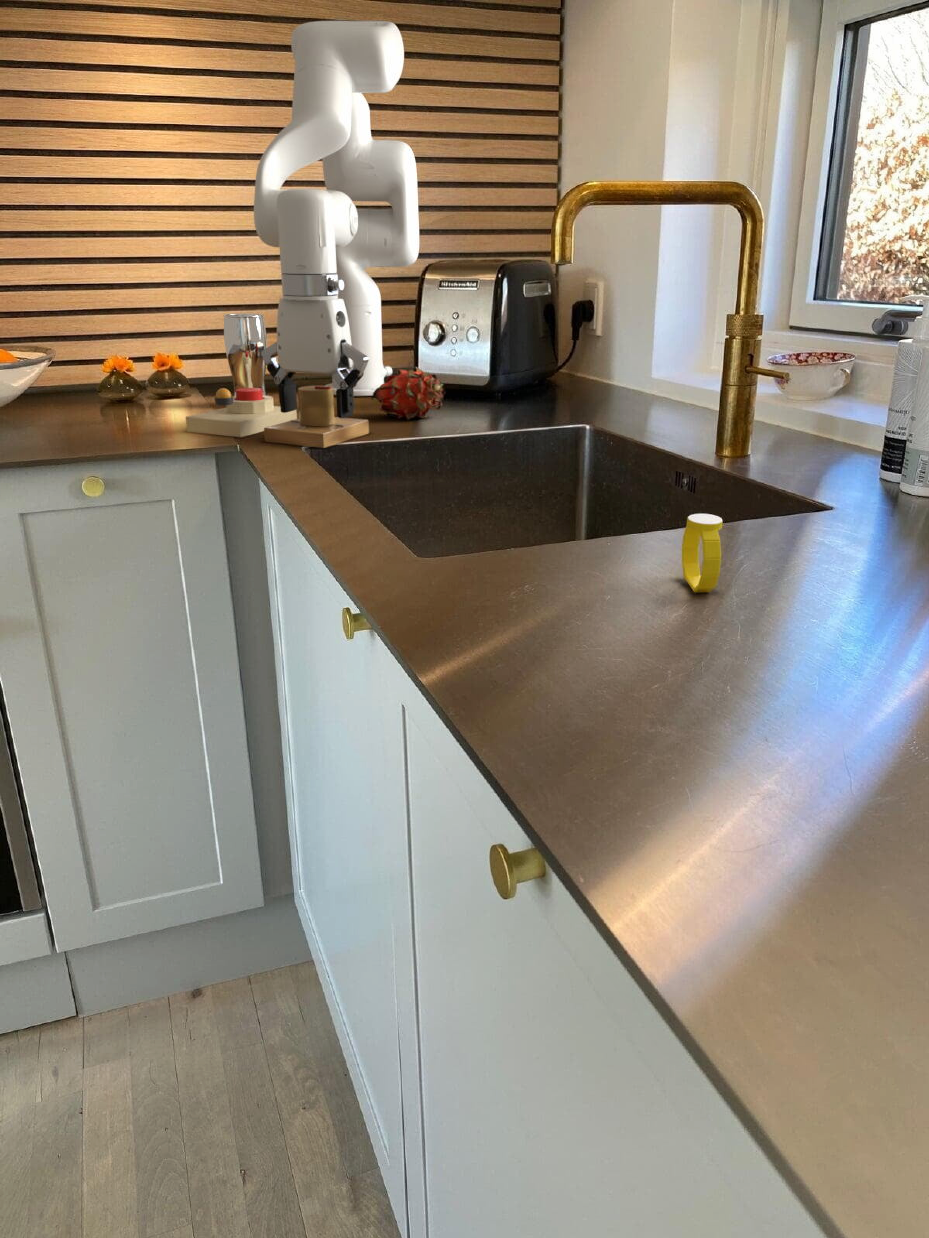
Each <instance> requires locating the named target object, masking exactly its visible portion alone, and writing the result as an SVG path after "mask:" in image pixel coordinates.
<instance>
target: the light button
mask: <svg viewBox="0 0 929 1238" xmlns="http://www.w3.org/2000/svg"><path fill="white" fill-rule="evenodd" d="M262 399H263V392H262V389H261V388H240V389H236V400H239V401H255V400H262Z"/></svg>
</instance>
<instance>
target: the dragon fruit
mask: <svg viewBox="0 0 929 1238" xmlns="http://www.w3.org/2000/svg"><path fill="white" fill-rule="evenodd" d="M414 369H415V371H413V369H409V370H407V369H400V368H399V369H397V370H396V372H397V374H394V375H393V374H392V375H391V376H388V377H387V379H386V381H385V382H384V384H382V385H381V386H380V387H379V388H377V389H376V390H375V391H374V392H373V395H372V396H370V399H371V401H373V400H374V399H376V401H378V402H380V403H381V404H379V407H378V408H379V411H380V412H383V413H385V414H386V416H388V417H393V418H396V419H397V418H398V419H400V418H404V417H405V418H406V420H407V421H410V420H411V419H412V418H415V417H416V416H417V418H420V419H425V418H427V417H428V412H429V411H430V410H432V411H433V410H434V411H437V410H440V409H441V407H443V402H442V401H443V399H444V396H445V394H446V392H447V391H446V389H445V388H444V384H443V383H442V382H441V381H440V380H439V379H438V377H437V375H436V374H435V373H430V372H428V371H423V370H422V369H421V368H419V367H417V366H415V367H414Z"/></svg>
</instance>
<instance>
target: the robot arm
mask: <svg viewBox="0 0 929 1238" xmlns="http://www.w3.org/2000/svg"><path fill="white" fill-rule="evenodd" d="M290 47H291V52H292V56H293V59H294V73H293V74H294V75H293V90H292V105H291V106H292V107H291V120H290V122H289V123H288V124H287V125H286V126H285V127H284V128H283V129H281V130H280V132H279V133H278V134H277V135H276V136H275V137H274V138H273V139H272V141H271V142H270V143H269V145H267V148H266V149H265V151H264V152H263V154H262V155H261V157H260V159H259V162H258V165H257V169H256V174H255V186H254V198H253V199H254V201H253V223H254V228H255V232H256V234H257V236H258V238H259V239H260V241H261V242H262V243H264V244H265V245H266V246H269V247H272V248H279V260H280V261H279V262H280V273H281V274H280V278H281V292H282V293H281V294H282V297H281V298H279V301H278V308H277V317H276V319H277V320H276V341H275V342H274V343H272V344H270V345H269V346H267V348H266V349H264V350H263V351H262V352H261V355H262V357H263V359H264V362H265V364H266V370H267V371H268V373H269V374H270V376H271V377H272V378H273V382H274V383H275V384H276V385H278V398H279V399H278V401H279V406H280V408H281V412H282V413H286V412H290V411H294V410H296V411H297V409H298V400H297V399H298V398H297V384H296V381H293V379H294V377H295V376H296V374H297V373H298V374H299V373H301V374H312V375H331V379H332V380H331V381H332V382H331V383H327V384H325V385H324V386H329V387H332V388H333V396H335V397H336V417H339V418H349V417H352V416H353V415H354V410H355V397H371V396H372V395H373V392H374V391H375V390H376V389H377V388H379V387H380V386H381V385H382V384H384V383H385V378H388V377H389V376H393V369H392V367H391V366H389V365H386V366H384V362H383V332H382V331H383V330H382V329H383V328H382V295H381V292H380V289H379V287H378V285H377V284H376V282H375V281H374V279H372V278H371V276H370V275H369V274H368V272H367V271H366V269H368V268H400V267H401V268H403V267H404V268H405V267H409V266H411V265H413V264H414V263H416V262H417V259H418V257H419V252H420V251H419V250H420V220H419V192H418V172H417V170H418V169H417V163H416V158H415V155H414V152H413V150H412V149H413V148H411V147H410V145H409V144H408V143H407V142H404V141H402V140H396V139H374V138H373V137H372V131H371V128H372V127H371V109H370V106H369V103H368V101H367V99H366V97H365V96H364V95H363V94H385V93H389V92H391V91H392V90H393V89H394V88H395V86H396V85H397V83H398V82H399V80H400V78H401V76H402V74H403V73H402V72H403V69H404V63H405V49H404V41H403V36H402V34H401V32H400V29H399V28H398V26H397V25H396V24H395V23H394V22H392V21H386V20H385V21H384V20H316V21H308V22H304V23H301V24H299V25H298V26H296V27H295V28H294V29H293V30H292V32H291V38H290ZM320 160H322V172H323V179H324V185H325V189H319V188H288V189H282V187H283V184H284V183H285V181H287V179H289V177H291V176H292V175H293V174H294V173H296V172H298V171H299V170H301V169H302V168H305V167H307V166H309V165H311V164H314V163H315V162H318V161H320ZM354 202H384V203H385V202H386V203H388V204H389V205H390V206H391V209H390V208H372V209H371V208H357V207H356V205H355V204H354ZM276 357H277V358H276Z"/></svg>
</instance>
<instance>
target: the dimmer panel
mask: <svg viewBox="0 0 929 1238" xmlns="http://www.w3.org/2000/svg"><path fill="white" fill-rule="evenodd" d="M334 417H335V423H334V424H332V425H328V426H304V425H301V424H300V418H297V419H295V420H290V421H288V422H284V423H280V424H276V425H273V426H269V427H265V428H264V431H263V432H264V434H263V435H264V442H266V443H273V444H274V443H275V444H283V445H290V446H291V445H292V446H293V445H294V446H300V447H301V446H303V447H311V448H319V449H325V448H329V447H331V446H335V445H338V444H340V443H344V442H347V441H349V440H353V439H356V438H359V437H362V436H365V435H368V434H369V433H370V425H369V423H370V422H369V420H368V419H362V418H349V417H345V418H339V417H338V416H334Z"/></svg>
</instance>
